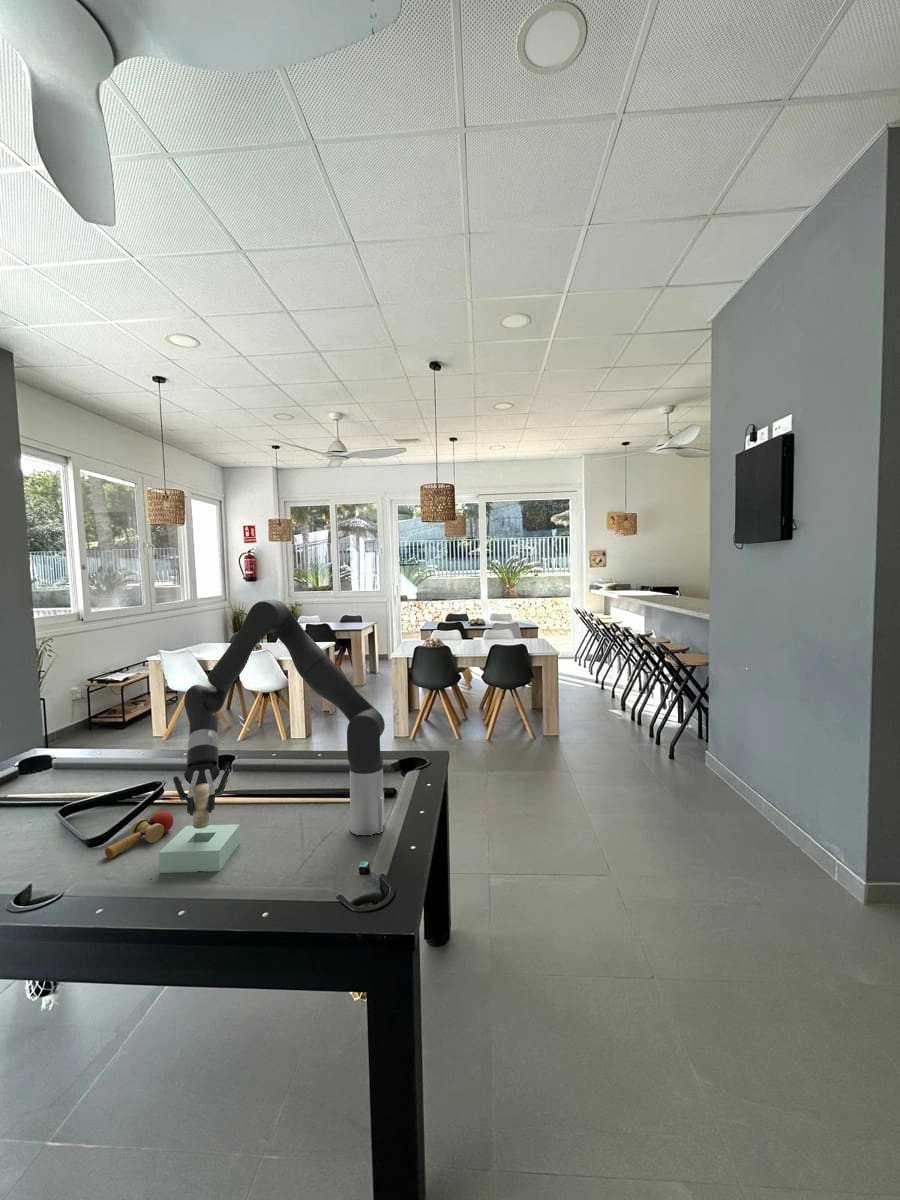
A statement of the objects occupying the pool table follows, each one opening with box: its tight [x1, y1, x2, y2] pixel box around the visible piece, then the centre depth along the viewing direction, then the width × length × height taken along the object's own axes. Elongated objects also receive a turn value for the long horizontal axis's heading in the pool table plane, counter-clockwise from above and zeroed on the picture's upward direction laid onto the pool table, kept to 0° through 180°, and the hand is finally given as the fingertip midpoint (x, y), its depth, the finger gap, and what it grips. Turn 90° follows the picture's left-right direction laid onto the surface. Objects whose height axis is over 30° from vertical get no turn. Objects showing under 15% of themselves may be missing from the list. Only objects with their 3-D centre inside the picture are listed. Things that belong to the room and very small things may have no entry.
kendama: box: [104, 810, 174, 859], centre depth 139 cm, size 8×6×18 cm
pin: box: [192, 783, 210, 829], centre depth 131 cm, size 4×4×10 cm
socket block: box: [158, 824, 241, 874], centre depth 131 cm, size 14×14×5 cm
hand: (200, 812), depth 129 cm, fingers closed on pin, 3 cm apart
